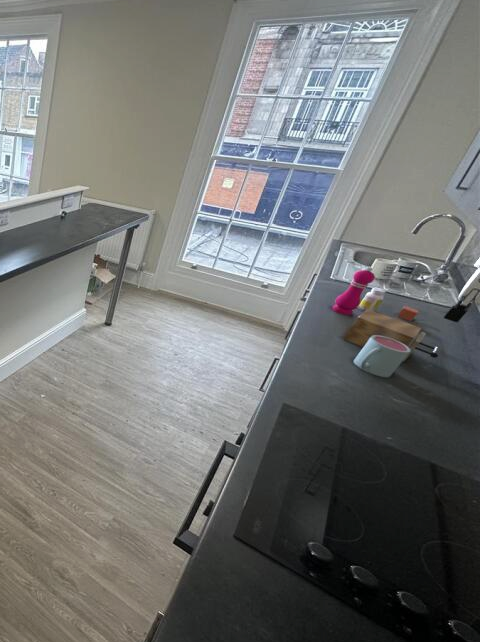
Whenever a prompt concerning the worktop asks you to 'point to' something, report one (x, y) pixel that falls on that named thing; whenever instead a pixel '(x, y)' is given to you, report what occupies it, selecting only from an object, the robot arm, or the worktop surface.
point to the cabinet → (380, 329)
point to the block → (408, 313)
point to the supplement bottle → (372, 300)
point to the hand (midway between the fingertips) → (451, 319)
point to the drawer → (417, 341)
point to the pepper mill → (353, 292)
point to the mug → (381, 355)
